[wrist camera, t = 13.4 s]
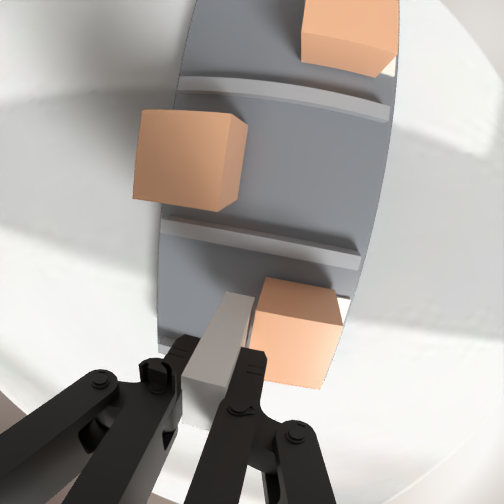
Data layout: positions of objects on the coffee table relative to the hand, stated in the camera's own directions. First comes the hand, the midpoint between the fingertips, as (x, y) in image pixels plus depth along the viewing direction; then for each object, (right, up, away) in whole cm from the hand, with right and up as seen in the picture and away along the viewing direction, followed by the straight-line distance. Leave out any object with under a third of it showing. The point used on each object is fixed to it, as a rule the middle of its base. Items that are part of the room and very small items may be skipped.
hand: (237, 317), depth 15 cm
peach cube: (-2, +8, 0) cm, 9 cm away
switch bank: (+2, +8, +2) cm, 9 cm away
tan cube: (+3, 0, +2) cm, 4 cm away
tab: (+6, +15, -3) cm, 16 cm away
